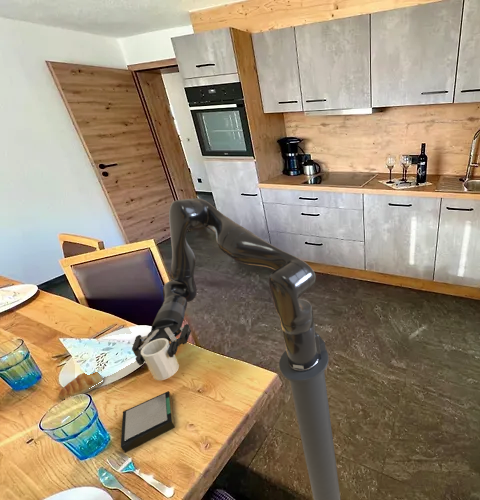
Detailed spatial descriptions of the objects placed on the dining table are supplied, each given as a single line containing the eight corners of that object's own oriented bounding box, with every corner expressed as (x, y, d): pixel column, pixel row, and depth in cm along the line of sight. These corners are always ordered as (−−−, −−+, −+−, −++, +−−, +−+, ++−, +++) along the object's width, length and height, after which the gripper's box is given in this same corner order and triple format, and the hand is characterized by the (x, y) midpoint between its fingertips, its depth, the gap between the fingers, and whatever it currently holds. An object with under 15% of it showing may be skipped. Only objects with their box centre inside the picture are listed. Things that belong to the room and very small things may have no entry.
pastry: (63, 407, 75) (56, 397, 74) (59, 393, 79) (52, 383, 78) (107, 382, 82) (101, 373, 80) (100, 371, 86) (95, 361, 84)
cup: (178, 358, 84) (167, 334, 80) (180, 372, 79) (169, 348, 75) (152, 368, 81) (140, 345, 77) (153, 384, 76) (140, 360, 72)
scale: (171, 396, 77) (168, 389, 75) (175, 427, 69) (171, 420, 68) (126, 417, 72) (122, 410, 71) (124, 453, 64) (119, 445, 63)
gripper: (138, 315, 86) (117, 356, 72) (191, 304, 90) (180, 340, 75) (148, 334, 89) (129, 377, 75) (198, 323, 93) (189, 361, 79)
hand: (155, 358), depth 75 cm, fingers closed on cup, 6 cm apart
